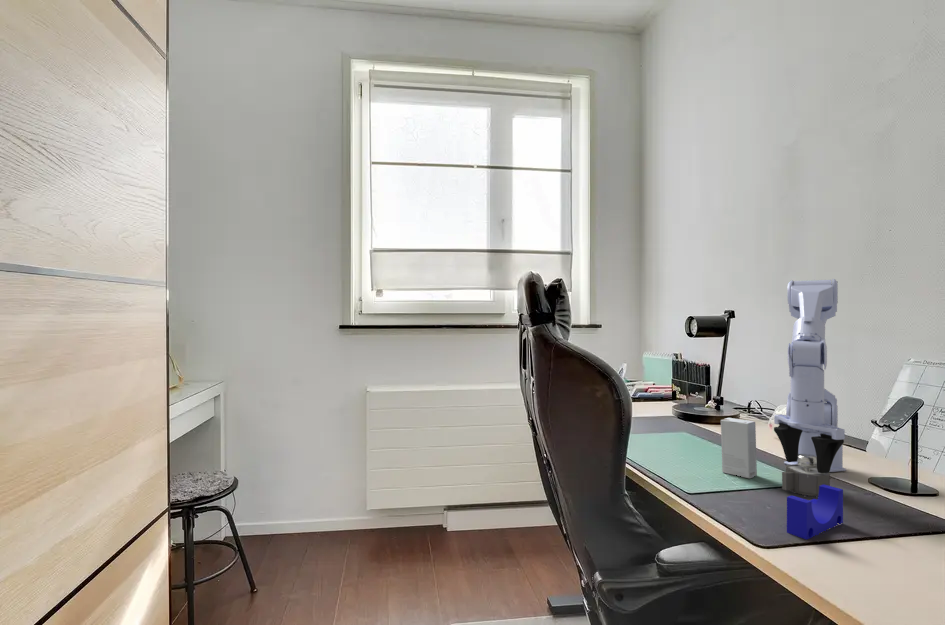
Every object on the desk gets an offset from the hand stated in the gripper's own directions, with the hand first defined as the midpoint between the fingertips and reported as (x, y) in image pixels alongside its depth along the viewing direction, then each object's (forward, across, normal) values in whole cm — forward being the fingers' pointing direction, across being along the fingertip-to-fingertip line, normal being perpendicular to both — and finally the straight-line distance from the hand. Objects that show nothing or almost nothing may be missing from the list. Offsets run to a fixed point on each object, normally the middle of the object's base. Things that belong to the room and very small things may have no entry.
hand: (807, 466), depth 102 cm
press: (+5, 0, 0) cm, 5 cm away
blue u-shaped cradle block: (+5, +14, -14) cm, 21 cm away
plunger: (+4, 0, 0) cm, 4 cm away
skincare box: (+5, -12, -6) cm, 14 cm away
